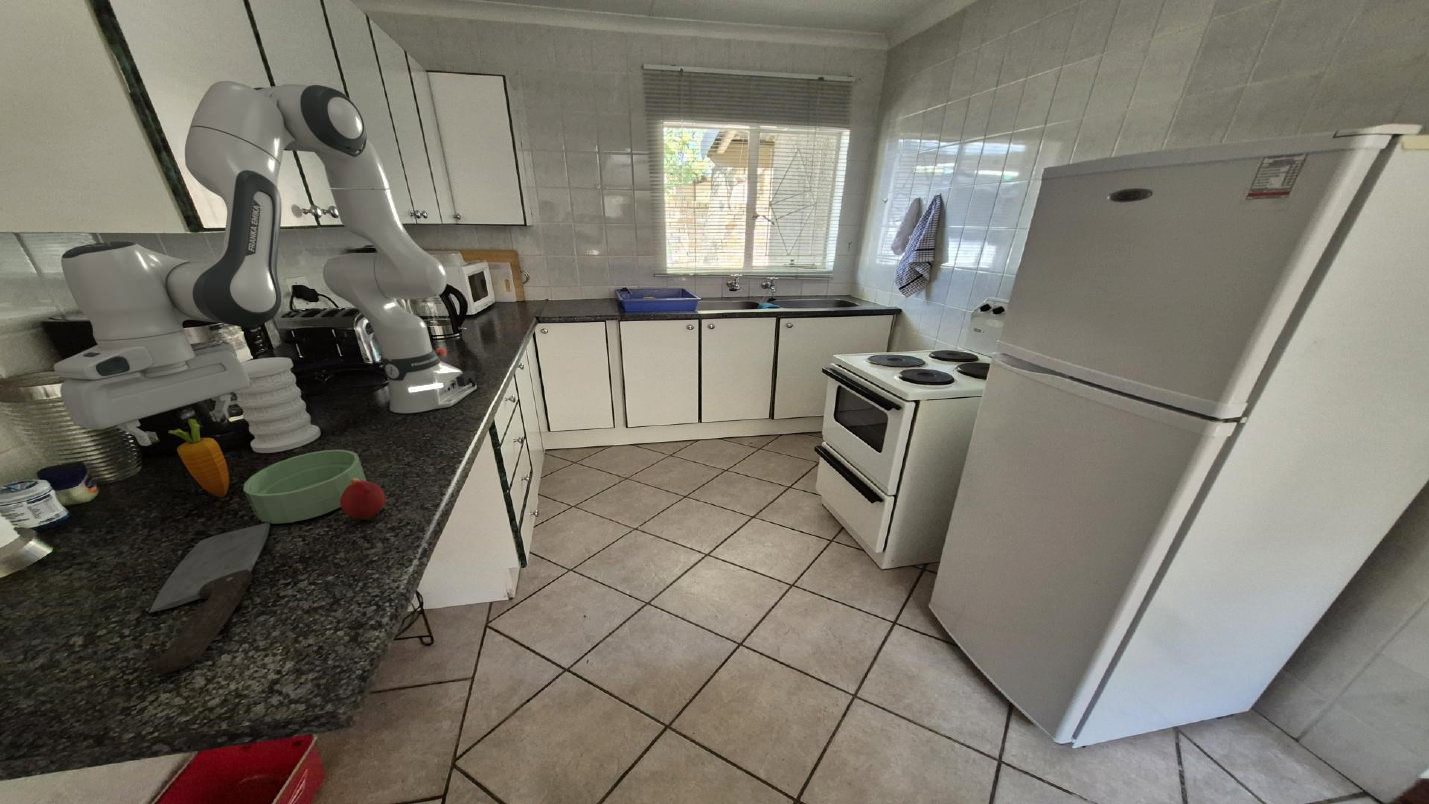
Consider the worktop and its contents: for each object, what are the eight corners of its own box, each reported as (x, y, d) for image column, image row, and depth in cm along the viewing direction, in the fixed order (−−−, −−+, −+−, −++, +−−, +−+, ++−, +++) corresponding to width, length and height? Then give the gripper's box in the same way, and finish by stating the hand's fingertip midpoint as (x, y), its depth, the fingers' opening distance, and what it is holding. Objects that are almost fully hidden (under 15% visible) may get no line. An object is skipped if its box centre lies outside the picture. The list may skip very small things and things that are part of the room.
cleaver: (224, 657, 51) (217, 644, 50) (93, 704, 46) (82, 691, 45) (276, 524, 74) (271, 513, 73) (191, 546, 69) (185, 535, 68)
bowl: (323, 472, 88) (313, 446, 86) (388, 481, 86) (379, 454, 83) (233, 519, 75) (218, 489, 72) (306, 532, 72) (293, 501, 70)
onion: (386, 504, 79) (373, 465, 76) (393, 519, 75) (380, 478, 72) (345, 518, 75) (330, 477, 72) (350, 534, 71) (335, 492, 68)
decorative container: (238, 449, 97) (203, 370, 90) (297, 426, 107) (269, 355, 101) (277, 456, 94) (243, 376, 87) (333, 432, 105) (307, 359, 98)
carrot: (216, 507, 78) (177, 429, 72) (195, 503, 79) (154, 427, 73) (249, 491, 82) (214, 417, 77) (228, 488, 83) (192, 414, 77)
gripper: (215, 335, 80) (245, 406, 85) (34, 369, 61) (86, 457, 67) (242, 337, 79) (271, 409, 84) (66, 372, 60) (116, 462, 65)
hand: (188, 431), depth 75 cm, fingers open, 8 cm apart
